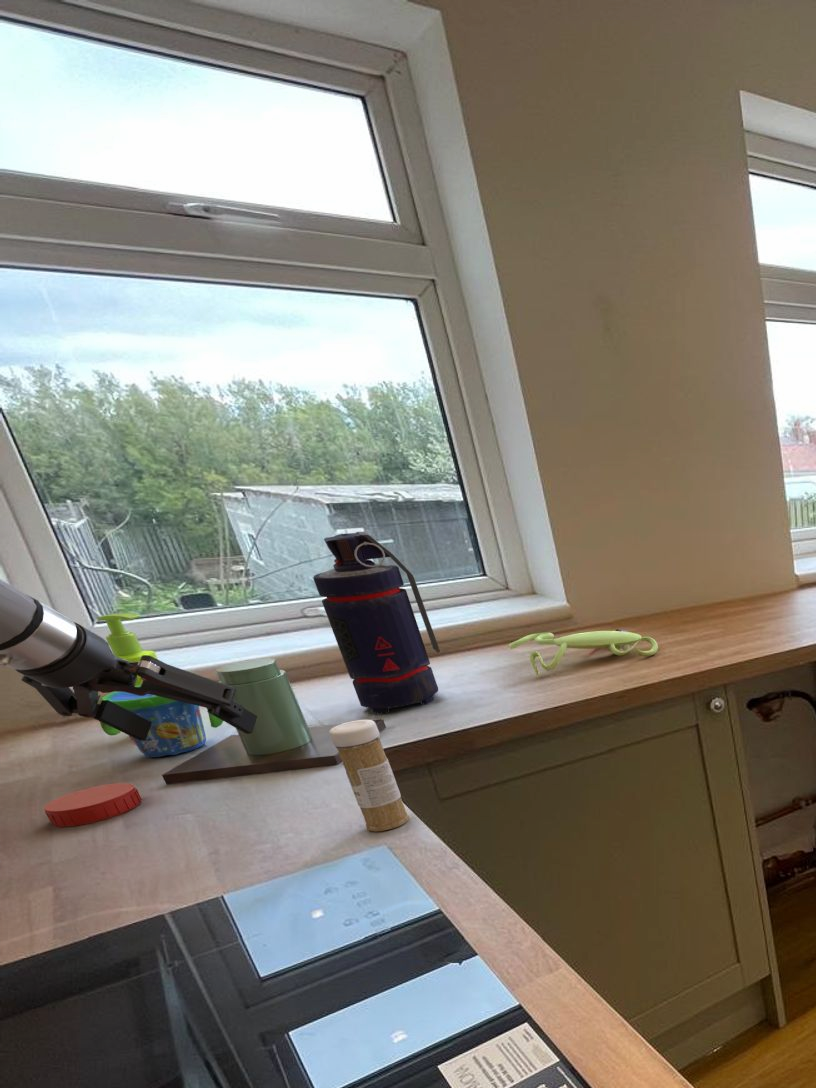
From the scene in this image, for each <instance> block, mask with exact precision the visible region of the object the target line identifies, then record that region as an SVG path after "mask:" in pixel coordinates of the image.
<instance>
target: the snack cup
mask: <svg viewBox="0 0 816 1088" xmlns="http://www.w3.org/2000/svg"><path fill="white" fill-rule="evenodd" d="M140 686H141V685H140ZM140 686H135V687H140ZM102 700H109V701H111V702H113V703H115V704H117V705H119V706H121V707H123V708H125V709H127V710H129V711H131V712H132V713H134V714H136V715H138V716H140V717H142V718H144V719H146V720H148V721H150V722H152V725H151V727H150V730H149V732H148V735H147V738H146V740H138V739H136V738H134V737H132V736H129V735H128V737H129V738H130V739H131V741H132V742H133V744H134V745H135V746H136V747H137V749H138V750H139V752H141V753H142V754H143V756H145V757H146V758H160V757H165V756H177V755H179V754H184V753H187V752H191V751H195V750H197V749H198V748H201V747H202V746H203V745H204V744H205V743H206V742H207V736H206V735H207V734H206V731H205V726H204V722H203V717H202V715H201V710H200V706H197V705H193V704H189V703H184V702H180V701H176V700H172V699H168V698H164V697H159V696H155V695H151V694H146V695H144V696H139V695H135V694H131V693H127V692H117V691H114V692H110V693H107V694H106V695H104V696H103V697H102V698H101V701H102ZM101 701H100V702H98V704H101ZM206 710H207V711H208V708H206ZM207 714H208V719H209V722H210V726H211V728H215V729H216V728H219V727H220V726H221V725H223V723H224V721H223V720H221V719H219V718H217V717H216V716H214V715H212V714H210V713H209V712H207ZM99 724H100V727H101V729H102V730H103V732H104V733H105V734H107V735H108V736H117V735H119V734H121V733H122V732H121V731H119V730H117V729H115V728H113V727H111V726H109V725H107V724H104V723H102V722H100V721H99Z"/></svg>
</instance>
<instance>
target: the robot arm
mask: <svg viewBox="0 0 816 1088" xmlns="http://www.w3.org/2000/svg"><path fill="white" fill-rule="evenodd" d="M0 666H4V667H5V666H6V667H7V668H10V669H13V670H15V671H16V672H17V673H20V674H21V675H22V677H21V681H22V682H23V683H25V684H27V685H29V686H31V687H32V688H34V689H35V690H36V691H37V692H38V693H39V694H40V695H41V696H42V697H43V699H44V700H45V701H46V702H47V703H48V704H49V705H50V706H51V707H52V709H53V710H54V711H55V712H56V713H57V714H58V715H59V716H63V717H72V716H73V714H77V715H78V716H80V717H82V718H86V719H87V718H89V719H90V718H92V719H93V720H96V721H98V722H99V723H100V722H102V723H104V724H107V725H109V726H111V727H113V728H115V729H117V730H119V731H121V732H120V733H124V734H126V735H128V737H129V736H132V737H134V738H136V739H138V740H146V738H147V735H148V732H149V730H150V727H151V725H152V722H150V721H148V720H146V719H144V718H142V717H140V716H138V715H136V714H134V713H132V712H131V711H129V710H127V709H125V708H123V707H121V706H119V705H117V704H115V703H113V702H111V701H109V700H102V699H101V700H100V698H101V695H100V694H99V693H102V694H111V693H113V692H116V691H117V692H127V693H131V694H135V695H139V696H144V695H146V694H151V695H155V696H159V697H164V698H168V699H172V700H176V701H180V702H184V703H189V704H193V705H197V706H199V707H201V708H206V709H207V708H208V710H207V711H206V712H207V713H208V712H209V713H210V714H212V715H214V716H216V717H217V718H219V719H221V720H223V722H224V723H226V724H228V725H230V726H232V727H233V728H235V729H236V728H237V729H239V730H241V731H242V732H244V733H246V734H250V733H252V732H253V729H254V726H255V723H256V720H257V716H256V715H255V714H253V713H251V712H250V711H248V710H246V709H245V708H244V707H243V706H242V705H240V704H238V703H237V702H235V701H233V698H234V695H235V692H236V688H234V687H231V686H229V685H226V684H223V683H220V682H219V681H217V680H215V679H211V678H209V677H205V676H202V675H200V674H197V673H194V672H191V671H189V670H185V669H183V668H180V667H176V666H174V665H171V664H168V663H166V662H164V661H162V660H160V659H158V658H157V659H156V658H154V657H152V656H148V655H143V656H142V657H141V659H140V661H139V662H130V661H127V660H124V659H121V658H119V657H116V656H114V653H113V651H112V649H111V647H110V645H109V643H108V641H107V640H106V639H104V638H103V637H101V636H100V635H98V634H97V633H95V632H93V631H91V630H90V629H88V628H87V627H84V626H83V625H81V624H79V623H77V622H75V621H73V620H72V618H70V617H68V616H67V615H65V614H63V613H61V612H59V611H57V610H55V609H54V608H52V607H51V606H48V605H47V604H45V603H43V602H42V601H40V600H39V599H36V598H34V597H32V596H30V595H29V594H26V593H25V592H23V591H21V590H19V589H18V588H16V587H14V586H13V585H12V584H10V583H8V582H6V581H5V580H4V579H2V578H0ZM137 675H138V676H140V677H141V680H143V681H142V684H141V686H140V687H135V683H136V681H137ZM71 688H72V689H71ZM99 700H100V702H101V704H99Z"/></svg>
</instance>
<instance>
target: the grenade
mask: <svg viewBox="0 0 816 1088" xmlns="http://www.w3.org/2000/svg"><path fill="white" fill-rule="evenodd" d="M323 541H324V542H325V544H326V546H327V548H328V550H329V551H330V553H331V554H332V556H333V557H334V558H335V559H334V560H333V562H334V564H333V565H332V566H333V568H332V569H329V570H327V571H324V572H320V573H316V574H314V575H313V577H312V579H313V582H314V585H315V587H316V590H317V592H318V595H319V596H320V597H323V598H324V599H322V600H321V604H322V606H323V609H324V611H325V615H326V616H327V619H328V622H329V626H330V628H331V630H332V632H333V635H334V636H333V637H334V638H335V641H336V644H337V646H338V649H339V652H340V654H341V657H342V659H343V662H344V665H345V669H346V671H347V673H348V676H349V679H351V680H352V685H353V688H354V690H355V693H356V697H357V699H358V702H359V705H360V706H362V707H363V708H368V709H371V710H372V712H373V713H374V714H379V715H381V714H388V713H389V712H390V709H392V708H400V707H405V706H409V705H413V704H416V703H421V705H423V706H424V705H425V706H426V705H428V704H431V703H432V702H434V701H435V697H434V695H436V694H437V693H438V692H439V686H438V684H437V680H436V678H435V675H434V672H433V668H432V667H431V666H429V665H431V661H430V659H429V655H428V653H427V649H426V646H425V644H424V639H423V637H422V634H421V631H420V629H419V626H418V622H417V619H416V616H415V613H414V609H413V607H412V604H411V601H410V598H409V594H408V591H407V589H405V588H401V587H402V586H404V584H405V583H404V580H403V577H402V573H401V570H402V571H403V572H404V574H406V576H407V579H408V582H409V585H410V587H411V590H412V593H413V596H414V598H415V602H416V604H417V607H418V609H419V613H420V615H421V618H422V621H423V624H424V626H425V630H426V632H427V636H428V638H429V640H430V643H431V646H432V649H433V650H434V651H435V652H436V653H440V652H441V649H440V647H439V645H438V641H437V639H436V635H435V633H434V630H433V628H432V625H431V622H430V619H429V615H428V613H427V611H426V608H425V605H424V602H423V599H422V597H421V594H420V590H419V588H418V585H417V582H416V579H415V577H414V574H412V572H411V571H410V570H409V569H408V568H407V567H406V566H405V565H404V564H403V563H402V562H401V561H400V560H399V559H398V558H397V557H396V556H395V555H394V554H393V553H392V552H391V551H390V550H388V549H387V548H386V547H385V546H384V545H382V544H381V543H380V542H379V541H377V540H376V539H375V538H374V537H373V536H371V535H370V534H369V533H367V532H366V531H356V532H352V533H340V534H336V535H334V536H328V537H324V539H323ZM386 558H390V559H391V560H392V561H393V562H394V563H395V565H394V564H384V563H385V560H386ZM374 559H375V560H376V559H382V560H381V561H380V563H375V562H374V561H373V560H374ZM397 565H398V566H397ZM400 569H401V570H400Z"/></svg>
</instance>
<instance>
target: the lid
mask: <svg viewBox="0 0 816 1088" xmlns="http://www.w3.org/2000/svg"><path fill="white" fill-rule="evenodd" d="M142 800H143V799H142V797H141V795H140V793H139V790H138V789H137V788H136V787H135V785H134V784H133V783H130V782H116V783H107V784H102V785H97V786H93V787H89V788H88V787H87V788H84V789H82V790H77V791H74V792H71V793H67V794H65V795H62V796H60V797H58V798H55V799H53V800H52V801H49V802H48V803H47V804H45V805H44V806H43V810H44V813H45V815H46V816H47V818H48V820H49V822H50V824H51V825H52V826H55V827H61V828H62V827H63V828H65V827H76V826H81V825H87V824H92V823H96V822H100V821H104V820H107V819H110V818H113V817H116V816H119V815H122V814H124V813H127V812H129V811H131V810H133V809H134V808H136V807H138V806H139V805H140V804H141V803H142Z"/></svg>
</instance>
